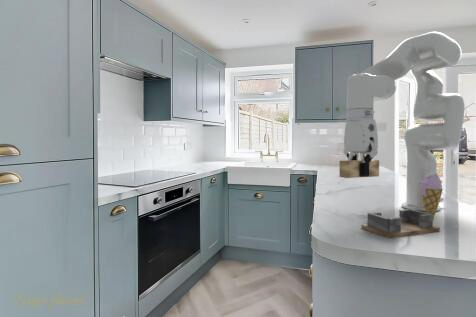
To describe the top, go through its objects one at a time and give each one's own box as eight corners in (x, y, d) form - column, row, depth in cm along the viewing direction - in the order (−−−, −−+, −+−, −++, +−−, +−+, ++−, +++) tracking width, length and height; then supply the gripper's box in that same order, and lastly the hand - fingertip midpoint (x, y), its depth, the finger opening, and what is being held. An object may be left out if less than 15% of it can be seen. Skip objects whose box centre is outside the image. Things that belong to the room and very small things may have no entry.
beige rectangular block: (370, 175, 99) (370, 159, 98) (378, 176, 95) (379, 160, 95) (339, 176, 95) (339, 160, 94) (347, 178, 91) (347, 161, 91)
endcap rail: (408, 222, 94) (408, 208, 94) (439, 231, 85) (440, 215, 85) (361, 228, 88) (361, 212, 88) (389, 237, 79) (389, 220, 79)
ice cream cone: (433, 222, 94) (434, 174, 94) (413, 218, 100) (414, 172, 99) (445, 220, 97) (447, 173, 97) (426, 216, 103) (427, 171, 102)
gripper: (391, 113, 87) (390, 177, 88) (351, 118, 103) (350, 172, 104) (370, 112, 85) (369, 179, 86) (332, 117, 100) (332, 173, 101)
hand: (359, 174), depth 95 cm, fingers closed on beige rectangular block, 3 cm apart
